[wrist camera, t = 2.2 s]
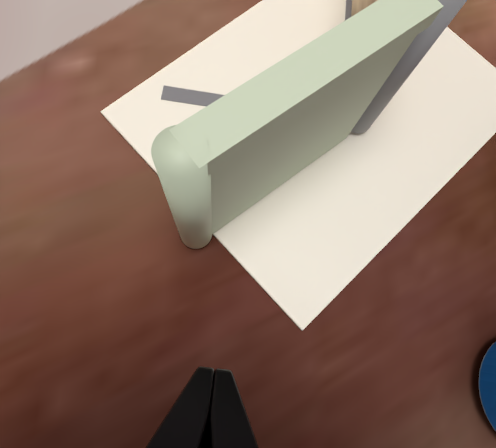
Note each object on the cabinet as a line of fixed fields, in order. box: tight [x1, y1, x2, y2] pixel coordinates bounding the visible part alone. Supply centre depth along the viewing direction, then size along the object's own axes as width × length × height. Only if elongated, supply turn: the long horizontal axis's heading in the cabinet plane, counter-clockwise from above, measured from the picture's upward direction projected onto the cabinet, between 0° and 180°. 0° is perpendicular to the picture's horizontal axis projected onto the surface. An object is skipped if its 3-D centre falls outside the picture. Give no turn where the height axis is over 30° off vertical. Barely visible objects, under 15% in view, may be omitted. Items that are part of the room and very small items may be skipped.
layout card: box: [101, 0, 496, 330], centre depth 25 cm, size 18×23×1 cm
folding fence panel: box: [151, 0, 467, 249], centre depth 18 cm, size 14×2×10 cm, turn 128°
